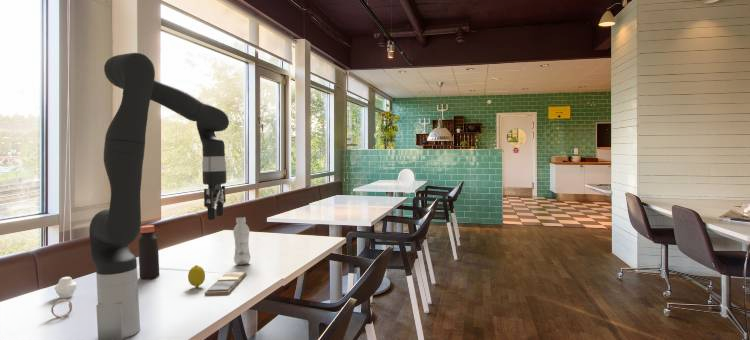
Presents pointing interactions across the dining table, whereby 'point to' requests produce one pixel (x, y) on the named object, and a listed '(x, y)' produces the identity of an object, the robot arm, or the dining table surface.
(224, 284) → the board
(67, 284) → the muffin
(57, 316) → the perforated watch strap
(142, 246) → the vinegar
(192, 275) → the lemon
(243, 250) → the plastic bottle
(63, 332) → the dining table surface
